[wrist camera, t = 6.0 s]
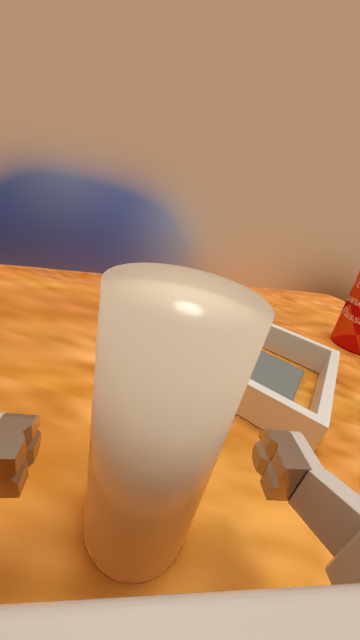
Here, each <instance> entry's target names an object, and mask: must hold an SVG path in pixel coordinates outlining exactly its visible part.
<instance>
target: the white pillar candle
mask: <svg viewBox="0 0 360 640" xmlns="http://www.w3.org/2000/svg"><path fill="white" fill-rule="evenodd" d="M274 316H275V315H274V311H273V309H272V307H271V306H270V304H269V303H268V302H267V301H266V300H265V299H264V298H262V297H261V296H260V295H258V294H257V293H255V292H254V291H252V290H250V289H249V288H247V287H245V286H243V285H241V284H238V283H236V282H233V281H231V280H229V279H226V278H224V277H221V276H218V275H215V274H212V273H208V272H205V271H201V270H196V269H193V268H188V267H183V266H176V265H170V264H159V263H130V264H123V265H119V266H115V267H112V268H110V269H108V270H107V271H106V272H105V273H104V274H103V275H102V277H101V289H100V303H99V317H98V331H97V345H96V359H95V373H94V387H93V400H92V414H91V428H90V442H89V456H88V470H87V484H86V498H85V512H84V527H83V530H84V540H85V545H86V548H87V551H88V553H89V555H90V557H91V559H92V561H93V562H94V564H95V565H96V566H97V568H98V569H99V570H100V571H101V572H102V573H104V574H105V575H107V576H108V577H109V578H111V579H114V580H116V581H119V582H122V583H129V584H135V583H142V582H146V581H149V580H151V579H154V578H156V577H157V576H159V575H160V574H162V573H163V572H164V571H165V570H167V569H168V568H169V567H170V565H171V564H172V563H173V562H174V560H175V559H176V557H177V556H178V554H179V552H180V550H181V548H182V546H183V543H184V541H185V538H186V536H187V533H188V531H189V528H190V526H191V523H192V521H193V518H194V516H195V513H196V511H197V508H198V506H199V503H200V501H201V499H202V496H203V494H204V491H205V489H206V486H207V484H208V481H209V479H210V476H211V474H212V471H213V469H214V466H215V464H216V461H217V459H218V456H219V454H220V451H221V449H222V446H223V444H224V442H225V439H226V437H227V434H228V432H229V429H230V427H231V424H232V422H233V419H234V417H235V414H236V412H237V409H238V407H239V404H240V402H241V399H242V397H243V394H244V392H245V389H246V387H247V385H248V382H249V380H250V377H251V375H252V372H253V370H254V367H255V365H256V362H257V360H258V357H259V355H260V352H261V350H262V347H263V345H264V342H265V340H266V337H267V335H268V332H269V330H270V328H271V325H272V323H273V320H274Z"/></svg>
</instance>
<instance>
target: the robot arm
mask: <svg viewBox="0 0 360 640" xmlns="http://www.w3.org/2000/svg"><path fill="white" fill-rule="evenodd" d="M39 425H40V416H36V415H25V414H14V413H0V498H19V497H20V494H21V492H22V490H23V487H24V485H25V483H26V480H27V478H28V467H29V466H30V465H32V464H33V463H34V461H35V459H36V456H37V454H38V450H39V446H40V441H41V432H40V431H39V430H38V427H39ZM259 438H260V441H258V442H257V443H255V445H254V447H253V450H252V459H253V464H254V467H255V470H256V471H257V472H258V473H259V474H260V475H261V479H260V483H261V486H262V488H263V491H264V494H265V496H266V499H267V500H276V501H288V503H289V504H290V505H291V506H292V508H293V509H294V510H295V511H296V512H297V514H298V515H299V516H300V517H301V518H302V519H303V521H304V522H305V523H306V524H307V525H308V527H309V528H310V529H311V530H312V531H313V532H314V534H315V535H316V536H317V537H318V538H319V540H320V541H321V542H322V543H323V544H324V545H325V547H326V548H327V549H328V550H329V551H330V553H331V554H332V555H333V556H334V558H333V559H332V560H331V561H330V562H329V563H328V564H327V565H326V569H325V571H326V573H327V575H328V577H329V580H330V582H331V584H332V585H318V586H301V587H284V588H267V589H250V590H233V591H216V592H199V593H182V594H165V595H148V596H131V597H114V598H97V599H80V600H64V601H47V602H30V603H13V604H0V640H360V496H359V495H358V494H357V493H356V492H354V491H353V490H352V489H351V488H349V487H348V486H347V485H346V484H344V483H343V482H342V481H341V480H340V479H338V478H337V477H336V476H335V475H333V474H332V473H331V472H330V471H325V469H324V468H323V466H322V464H321V463H320V461H319V460H318V458H317V456H316V455H315V453H314V452H313V450H312V448H311V447H310V445H309V444H308V442H307V440H306V439H305V437H304V435H303V434H302V433H301V432H297V431H283V430H263V431H261V433H260V435H259Z"/></svg>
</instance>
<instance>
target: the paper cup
mask: <svg viewBox="0 0 360 640" xmlns="http://www.w3.org/2000/svg"><path fill="white" fill-rule="evenodd" d="M331 339H332V341H333V342H334V343H336V344H337V345H338V346H340V347H342V348H344V349H346V350H348V351H350V352H352V353H355V354H358V355H360V272H359V274H358V276H357V278H356V281H355V283H354V285H353V287H352V290H351V292H350V294H349V296H348V299H347V301H346V303H345V305H344V308H343V310H342V312H341V314H340V317H339V319H338V321H337V323H336V326H335V328H334V331H333V333H332V336H331Z"/></svg>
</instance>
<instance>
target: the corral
mask: <svg viewBox="0 0 360 640" xmlns="http://www.w3.org/2000/svg"><path fill="white" fill-rule="evenodd" d="M263 348H265V349H267V350H269V351H271V352H273V353H276V354H278V355H280V356H282V357H284V358H286V359H289V360H291V361H293V362H295V363H297V364H299V365H302V366H304V367H306V368H308V369H310V370H312V371H315V372H317V373H319V376H318V380H317V384H316V387H315V391H314V395H313V398H312V402H311V405H310V409H309V410H308V409H306V408H304V407H302V406H301V405H299V404H297V403H295V402H293V398H294V396H295V393H296V390H297V388H298V385H299V383H300V380H301V378H302V375H303V373H304V370H302V369H299V368H297V367H295V366H293V365H291V364H289V363H287V362H285V361H282V360H280V359H278V358H276V357H274V356H272V355H270V354H268V353H265V352H263V351H261V352H260V355H259V357H258V360H257V362H256V365H255V367H254V370H253V372H252V375H251V377H250V380H249V382H248V385H247V387H246V389H245V392H244V394H243V397H242V399H241V402H240V404H239V407H238V409H237V412H236V414H237V415H239V416H240V417H242V418H244V419H245V420H247V421H249V422H250V423H252V424H254V425H255V426H257V427H259V428H260V429H262V430H283V431H297V432H301V433H302V434H303V435H304V437H305V439H306V440H307V442H308V444H309V445H310V447H311V448H312V450H313V452H314V450H315V449H316V447H317V446H318V444H319V443H320V441H321V439H322V438H323V436H324V435H325V433H326V432H327V430H328V428H329V423H330V416H331V410H332V403H333V396H334V390H335V383H336V376H337V370H338V363H339V356H340V352H339V351H337V350H335V349H332V348H330V347H327V346H325V345H323V344H320V343H318V342H315V341H313V340H311V339H308V338H306V337H303V336H301V335H298V334H296V333H294V332H291V331H289V330H286V329H284V328H282V327H279V326H277V325H274V324H272V325H271V328H270V330H269V332H268V335H267V337H266V340H265V342H264V345H263Z"/></svg>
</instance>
